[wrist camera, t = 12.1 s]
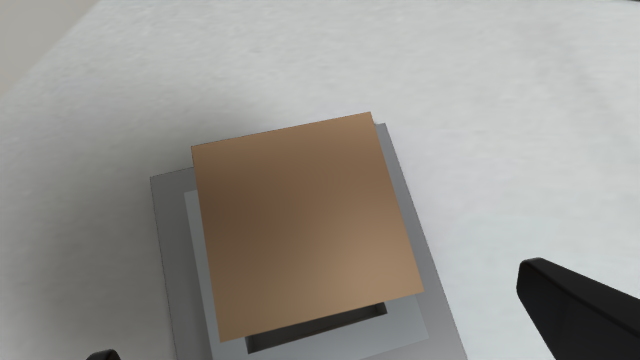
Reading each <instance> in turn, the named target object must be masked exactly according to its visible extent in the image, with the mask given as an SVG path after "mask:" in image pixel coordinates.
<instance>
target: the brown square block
mask: <svg viewBox="0 0 640 360" xmlns="http://www.w3.org/2000/svg"><path fill="white" fill-rule="evenodd" d="M191 151H192V157H193V164H194V171H195V178H196V184H197V191H198V198H199V204H200V211H201V218H202V225H203V231H204V238H205V245H206V251H207V258H208V265H209V272H210V278H211V285H212V292H213V298H214V305H215V312H216V319H217V325H218V332H219V339H220V343H222V342H226V341H230V340H234V339H238V338H242V337H246V336H250V335H254V334H258V333H262V332H266V331H270V330H274V329H278V328H282V327H286V326H290V325H294V324H297V323H301V322H305V321H309V320H313V319H317V318H321V317H325V316H329V315H333V314H337V313H341V312H345V311H349V310H353V309H357V308H361V307H365V306H369V305H373V304H377V303H381V302H385V301H389V300H393V299H397V298H401V297H405V296H409V295H413V294H417V293H421V292H425V291H424V288H423V284H422V281H421V278H420V274H419V271H418V268H417V264H416V261H415V258H414V255H413V251H412V248H411V245H410V241H409V238H408V235H407V231H406V228H405V225H404V221H403V218H402V215H401V211H400V208H399V205H398V202H397V198H396V195H395V192H394V188H393V185H392V182H391V178H390V175H389V172H388V168H387V165H386V162H385V159H384V155H383V152H382V149H381V145H380V142H379V139H378V135H377V132H376V129H375V125H374V122H373V119H372V115H371V112H366V113H361V114H355V115H350V116H345V117H340V118H335V119H330V120H324V121H319V122H314V123H309V124H304V125H299V126H294V127H288V128H283V129H278V130H273V131H268V132H263V133H257V134H252V135H247V136H242V137H237V138H232V139H227V140H221V141H216V142H211V143H206V144H201V145H196V146H191Z"/></svg>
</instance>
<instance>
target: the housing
mask: <svg viewBox="0 0 640 360" xmlns="http://www.w3.org/2000/svg"><path fill="white" fill-rule="evenodd" d="M375 129H376V132H377V135H378V139H379V142H380V145H381V149H382V152H383V155H384V159H385V162H386V165H387V168H388V172H389V175H390V178H391V182H392V185H393V188H394V192H395V195H396V198H397V202H398V205H399V208H400V211H401V215H402V218H403V221H404V225H405V228H406V231H407V235H408V238H409V241H410V245H411V248H412V251H413V255H414V258H415V261H416V264H417V268H418V271H419V274H420V278H421V281H422V284H423V288H424V291H425V292H421V293H417V294H413V295H409V296H405V297H401V298H397V299H393V300H389V301H385V302H381V303H377V304H373V305H369V306H365V307H361V308H357V309H353V310H349V311H345V312H341V313H337V314H333V315H329V316H325V317H321V318H317V319H313V320H309V321H305V322H301V323H297V324H294V325H290V326H286V327H282V328H278V329H274V330H270V331H266V332H262V333H258V334H254V335H250V336H246V337H242V338H238V339H234V340H230V341H226V342H222V343H220V339H219V332H218V325H217V319H216V312H215V305H214V298H213V292H212V285H211V278H210V272H209V265H208V258H207V251H206V245H205V238H204V231H203V225H202V218H201V211H200V204H199V198H198V191H197V184H196V178H195V171H194V167H192V168H188V169H183V170H179V171H175V172H170V173H166V174H162V175H157V176H153V177H150V182H151V189H152V196H153V202H154V209H155V215H156V222H157V229H158V235H159V242H160V249H161V255H162V262H163V269H164V275H165V282H166V289H167V295H168V302H169V309H170V315H171V322H172V329H173V335H174V342H175V349H176V355H177V360H468V359H467V356H466V353H465V350H464V348H463V345H462V342H461V339H460V336H459V333H458V330H457V327H456V325H455V322H454V319H453V316H452V313H451V310H450V307H449V305H448V302H447V299H446V296H445V293H444V290H443V287H442V284H441V282H440V279H439V276H438V273H437V270H436V267H435V264H434V262H433V259H432V256H431V253H430V250H429V247H428V244H427V242H426V239H425V236H424V233H423V230H422V227H421V224H420V221H419V219H418V216H417V213H416V210H415V207H414V204H413V201H412V199H411V196H410V193H409V190H408V187H407V184H406V181H405V178H404V176H403V173H402V170H401V167H400V164H399V161H398V158H397V156H396V153H395V150H394V147H393V144H392V141H391V138H390V135H389V133H388V130H387V127H386V124H385V123H382V124H378V125H375Z"/></svg>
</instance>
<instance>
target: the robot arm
mask: <svg viewBox="0 0 640 360" xmlns="http://www.w3.org/2000/svg"><path fill="white" fill-rule="evenodd" d="M516 289H517V294H518V297H519V299H520V301H521V302H522V304H523V306H524V307H525V309H526V311H527V313H528V314H529V316H530V318H531V319H532V321H533V323H534V324H535V326H536V328H537V330H538V331H539V333H540V335H541V336H542V338H543V340H544V341H545V343H546V345H547V346H548V348H549V350H550V351H551V353H552V355H553V356H554V358H555V359H556V360H640V299H638V298H635V297H633V296H631V295H628V294H626V293H623V292H621V291H619V290H616V289H614V288H612V287H609V286H607V285H605V284H602V283H600V282H597V281H595V280H593V279H590V278H588V277H586V276H583V275H581V274H579V273H576V272H574V271H571V270H569V269H567V268H564V267H562V266H560V265H557V264H555V263H552V262H550V261H548V260H545V259H543V258H532V259H527V260H524V261H522V262H521V263H520V266H519V273H518V279H517V286H516ZM86 360H121V359H120V357H119V356H118V354H117V352H116V351H115V350H111V349H110V350H105V351H101V352H96V353H93V354H92V355H90V356H89V357H88V358H87V359H86Z"/></svg>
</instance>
